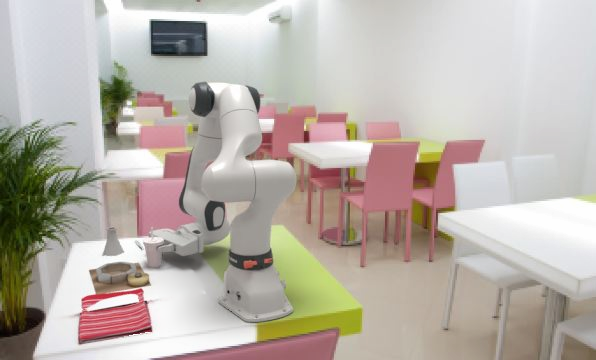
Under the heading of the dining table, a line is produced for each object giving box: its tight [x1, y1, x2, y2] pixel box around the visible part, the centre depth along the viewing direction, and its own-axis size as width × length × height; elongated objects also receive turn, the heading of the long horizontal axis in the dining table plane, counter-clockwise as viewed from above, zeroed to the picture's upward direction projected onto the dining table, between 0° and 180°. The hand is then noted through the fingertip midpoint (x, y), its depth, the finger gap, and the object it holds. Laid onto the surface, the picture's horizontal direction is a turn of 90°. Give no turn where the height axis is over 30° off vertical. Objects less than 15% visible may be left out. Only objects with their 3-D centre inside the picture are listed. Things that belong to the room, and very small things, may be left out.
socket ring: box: [95, 261, 137, 284], centre depth 153 cm, size 11×11×2 cm
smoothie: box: [142, 226, 164, 269], centre depth 162 cm, size 6×6×14 cm
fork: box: [134, 240, 145, 251], centre depth 181 cm, size 3×24×2 cm, turn 29°
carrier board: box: [88, 262, 152, 294], centre depth 153 cm, size 20×15×4 cm
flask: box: [102, 226, 125, 257], centre depth 173 cm, size 7×7×10 cm
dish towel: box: [77, 287, 153, 345], centre depth 131 cm, size 17×24×3 cm
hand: (151, 246), depth 161 cm, fingers closed on smoothie, 6 cm apart
